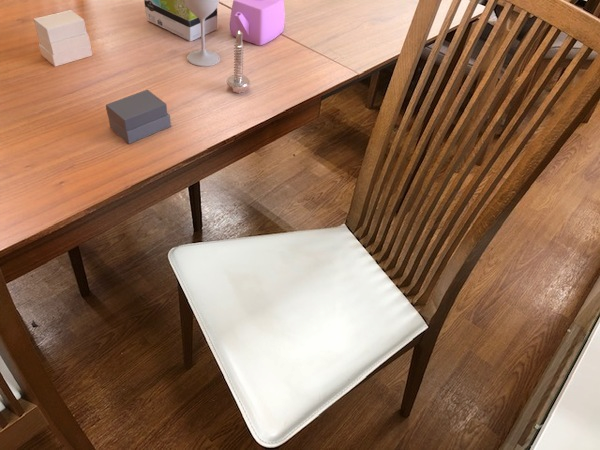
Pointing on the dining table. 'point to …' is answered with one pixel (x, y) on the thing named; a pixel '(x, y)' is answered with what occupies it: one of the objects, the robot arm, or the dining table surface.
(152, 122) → the grey stack
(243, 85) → the screw
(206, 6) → the wineglass
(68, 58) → the white stack
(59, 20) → the white block
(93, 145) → the dining table surface
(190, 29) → the tea box
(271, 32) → the teapot
